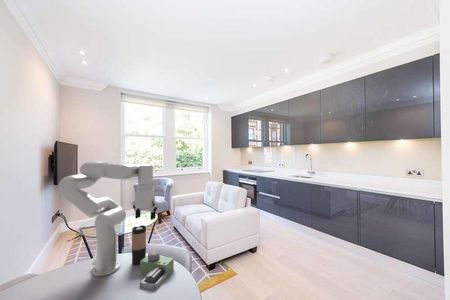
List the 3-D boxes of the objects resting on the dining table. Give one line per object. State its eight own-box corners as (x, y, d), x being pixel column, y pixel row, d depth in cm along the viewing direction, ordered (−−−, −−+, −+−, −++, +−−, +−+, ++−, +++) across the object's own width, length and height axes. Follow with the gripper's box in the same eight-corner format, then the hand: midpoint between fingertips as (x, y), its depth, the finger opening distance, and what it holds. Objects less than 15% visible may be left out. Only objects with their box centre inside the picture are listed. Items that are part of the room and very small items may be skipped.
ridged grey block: (145, 285, 90) (145, 275, 90) (154, 276, 97) (154, 266, 97) (154, 287, 89) (154, 276, 89) (162, 277, 96) (162, 267, 96)
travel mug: (140, 266, 106) (140, 230, 107) (128, 265, 107) (129, 229, 108) (148, 259, 113) (148, 225, 114) (137, 258, 115) (137, 225, 116)
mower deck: (126, 283, 91) (126, 265, 91) (148, 265, 107) (148, 249, 107) (155, 289, 87) (155, 269, 87) (173, 269, 102) (173, 252, 103)
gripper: (127, 187, 102) (127, 219, 101) (154, 188, 97) (154, 222, 96) (137, 185, 109) (137, 215, 108) (163, 186, 104) (163, 217, 103)
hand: (145, 218), depth 102 cm, fingers open, 9 cm apart
